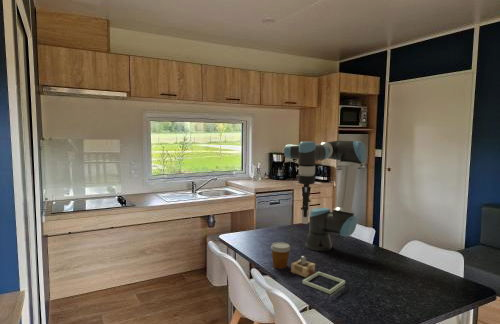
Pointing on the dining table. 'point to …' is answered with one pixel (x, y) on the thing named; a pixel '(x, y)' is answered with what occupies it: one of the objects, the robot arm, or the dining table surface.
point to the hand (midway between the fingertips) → (305, 219)
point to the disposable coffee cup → (280, 254)
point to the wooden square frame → (303, 268)
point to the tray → (323, 287)
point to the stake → (303, 260)
